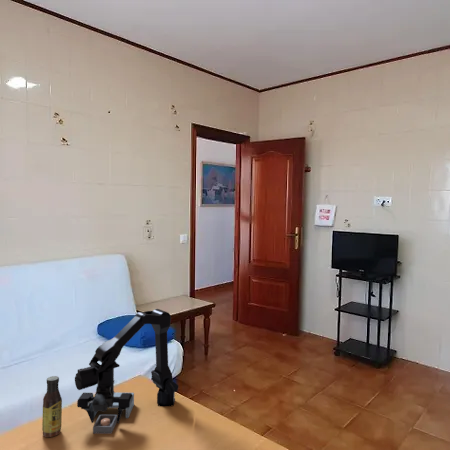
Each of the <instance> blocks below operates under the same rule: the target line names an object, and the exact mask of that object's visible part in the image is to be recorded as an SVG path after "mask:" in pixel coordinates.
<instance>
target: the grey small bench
mask: <svg viewBox="0 0 450 450" xmlns="http://www.w3.org/2000/svg"><path fill="white" fill-rule="evenodd" d="M122 393H123V392H120V391H119V392H117V391H116V392H115V391H114V397H120V396H121V394H122ZM130 393H131V394H132V395H133V400H132V403H131V405H130V407H128V408H126V409H125V419H129V417H130V415H131V413H132V411H133V408H134V405H135V393H134V392H130ZM118 407H119V406H118V403H113V406H112V407H109V409H118ZM98 412H99V411H96V412H95V411H94V418H96V415H97V414H98Z"/></svg>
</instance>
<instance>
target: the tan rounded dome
mask: <svg viewBox="0 0 450 450" xmlns="http://www.w3.org/2000/svg"><path fill="white" fill-rule="evenodd" d="M101 426H110V419H109V418H104V419H102V420H101Z"/></svg>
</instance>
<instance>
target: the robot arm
mask: <svg viewBox="0 0 450 450" xmlns="http://www.w3.org/2000/svg"><path fill="white" fill-rule="evenodd" d="M171 322H172V316H171V314H170V313H169V312H168V311H166V310H163V309H160V308H155V309H153V310H145V311H138V312H136V314H135V316H134V317H133V318H132V319H131V320H130V321H129V322H128V323H127V324H126V325H124V327H122V328H121V330H120V331H119V332H118V333H117V334H115V336H113V338H111V339H109V340H106V341H105V342H103V343H102V344H101V345H99V346H98V347H97V348H96V349H95V351H94V352H95V353H94V355H93V357H92V359H91V360H90V361H89V363H88V365H89V366H87V367H84V368H83V367H82V368H79V369H77V373H75V377H74V384H75V387H76V389H77V391H82V390H84V389H88V388H90V387H94V386H96V390H95V394H94V392H82V393H81V395H80V396H79V397H78V399H77V401H76V402H77V408H80V409H81V410H85V411H86V413H87V415H88V417H89V419H90V422H91V424H93V423H95V422H94V421H95V417H94V411H95V412H96V411H98V412H103V413H104V412H106V411H107V410H108V408H109V407H112V406H113V403H118V406H119V407H118V408H117V423H116V424H119V422H120V420H121V417H122V415H123V414H122V413H123V411H124V410H125V411H126V408H128V407H130V405H131V403H132V400H133V395H132V394H131V393H132V392H121V393H122V394H121V396H120V397H114V392H115V389H114V388H115V386H114V384H115V377H114V376H115V375H114V374H115V369H116V368H119V367H121V366H120V364H119V363H117V362H116V360H117V359H118V358H119V356H120V354H121V353H122V352H121V351H122V349H123V348H124V346H126V344H127V343H129V341H130V340H131V339H132V338H134V336H136V334H137V333H139V331H141V329H142V328H143V327H145V325H151V327H152V329H153V330H154V343H155V345H154V347H155V363H156V364H155V366H154V367H155V368H154V369H153V370H151V371H150V373H151V379H150V381H152V382H153V384H154V385H155V387H156V388H158V391H157V393H156V394H157V395H156V403H157V407H175V406H174V405H175V401H176V398H175V395H176V393H175V392H178V389H179V385H178V384H177V383H176V382H175V381H174V378H173V373H172V371H171V369H170V367H169V354H168V352H169V351H168V350H169V347H168V346H169V345H168V331H169V329H170V327H171ZM98 362H100V363H101V364H100V363H98ZM109 409H110V408H109Z"/></svg>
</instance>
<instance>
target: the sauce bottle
mask: <svg viewBox="0 0 450 450" xmlns="http://www.w3.org/2000/svg"><path fill="white" fill-rule="evenodd" d="M59 383H60V377H59V376H58V375H52V376H48V377H46V393H45V394H44V396H43V399H42V424H41V425H42V428H41V429H42V436H43V437H44V438H53V437H56V436H57V435H59V434H60V433H61V430H62V423H63V422H62V413H63V412H62V411H63V410H62V408H63V407H62V406H63V405H62V404H63V398H62V396H61V393H60V390H59Z"/></svg>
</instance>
